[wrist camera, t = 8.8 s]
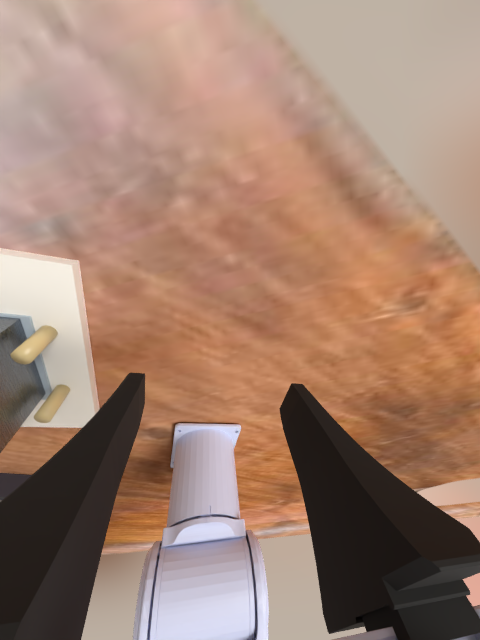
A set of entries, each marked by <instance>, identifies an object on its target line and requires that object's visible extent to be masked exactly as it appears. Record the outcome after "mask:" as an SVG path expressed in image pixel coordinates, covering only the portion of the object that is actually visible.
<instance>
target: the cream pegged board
mask: <svg viewBox="0 0 480 640" xmlns="http://www.w3.org/2000/svg"><path fill="white" fill-rule="evenodd" d="M0 317H10V318H20V319H21V322H22V325H23V328H24V331H25V334H26V337H27V340H25V341H24V342H23V343H22V344H21V345H20V346H19V347H17V348H16V349H15V350H14V351H13V352H12V353H11V358H12V359H13V360H14V361H15V362H17V363H19V364H30V363H31V362H32V361H33V360H34V361H35V364H36V366H37V369H38V372H39V375H40V378H41V381H42V384H43V387H44V390H45V393H46V394H45V395H44V397H43V398H42V399H41V400H40V402H39V403H38V404H37V406H36V407H35V408H34V410H33V411H32V412H31V414H30V415H29V416H28V417H27V419H26V420H25V421H24V423H23V424H22V425H21V427H64V428H83V427H84V426H85V425H86V424H87V423H88V422H89V421H90V419H91V418H92V417H93V416H94V415H95V414H96V413H97V412H98V411H99V410H100V408H99V401H98V393H97V386H96V379H95V372H94V365H93V357H92V350H91V343H90V336H89V329H88V321H87V314H86V307H85V300H84V293H83V286H82V278H81V271H80V264H79V261H78V260H72V259H66V258H59V257H53V256H47V255H41V254H35V253H28V252H22V251H16V250H10V249H3V248H0Z"/></svg>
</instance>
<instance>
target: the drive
mask: <svg viewBox="0 0 480 640" xmlns="http://www.w3.org/2000/svg"><path fill="white" fill-rule="evenodd" d="M25 340H27V337H26V334H25V331H24V328H23V325H22V322H21V319H20V318H10V317H0V453H1V452H2V450H3V449H4V448H5V446H6V445H7V444H8V442H9V441H10V440H11V438H12V437H13V436H14V435H15V433H16V432H17V431H18V429H19V428H20V427H21V425H22V424H23V423H24V421H25V420H26V419H27V417H28V416H29V415H30V414H31V412H32V411H33V410H34V408H35V407H36V406H37V404H38V403H39V402H40V400H41V399H42V398H43V397H44V395H45V394H46V393H45V390H44V387H43V384H42V381H41V378H40V375H39V372H38V369H37V366H36V364H35V361H34V360H33V361H32V362H31V363H30V364H19V363H17V362H15V361H14V360H13V359H12V358H11V353H12V352H13V351H14V350H15V349H16V348H17V347H19V346H20V345H21V344H22V343H23V342H24V341H25Z"/></svg>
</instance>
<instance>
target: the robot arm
mask: <svg viewBox="0 0 480 640" xmlns="http://www.w3.org/2000/svg"><path fill="white" fill-rule="evenodd" d="M144 404H145V374H142V373H129V374H128V375H127V376H126V378H125V379H124V380H123V382H122V383H121V384H120V386H119V387H118V388H117V390H116V391H115V392H114V393H113V394H112V396H111V397H110V398H109V399H108V400H107V402H106V403H105V404H104V405H103V406H102V407H101V408H100V410H99V411H98V412H97V413H96V414H95V415H94V416H93V417H92V418H91V419H90V421H89V422H88V423H87V424H86V425H85V426H84V427H83V428H82V429H81V430H80V431H79V432H78V433H77V434H76V435H75V436H74V437H73V438H72V439H71V440H70V441H69V442H68V443H67V444H66V445H65V446H64V447H63V448H62V449H61V450H60V451H58V452H57V453H56V454H55V455H54V456H53V457H52V458H51V459H50V460H49V461H48V462H47V463H45V464H44V465H43V466H42V467H41V468H40V469H39V470H37V471H36V472H35V473H34V474H33V475H32V476H30V477H29V478H28V479H27V480H26V481H25V482H24V483H22V484H21V485H20V486H19V487H18V488H16V489H15V490H14V491H13V492H12V493H10V494H9V495H8V496H7V497H5V498H4V499H3V500H2V501H0V640H81V637H82V633H83V628H84V624H85V620H86V615H87V611H88V606H89V602H90V598H91V594H92V590H93V586H94V581H95V577H96V573H97V569H98V565H99V561H100V557H101V553H102V549H103V545H104V541H105V537H106V533H107V529H108V525H109V521H110V517H111V513H112V509H113V505H114V501H115V498H116V494H117V491H118V487H119V484H120V481H121V478H122V475H123V472H124V469H125V467H126V464H127V461H128V458H129V455H130V452H131V449H132V446H133V443H134V441H135V438H136V435H137V432H138V429H139V426H140V421H141V417H142V413H143V409H144ZM280 414H281V420H282V425H283V430H284V433H285V436H286V440H287V443H288V446H289V449H290V452H291V455H292V459H293V462H294V465H295V468H296V471H297V474H298V478H299V481H300V485H301V489H302V493H303V498H304V502H305V507H306V512H307V516H308V521H309V526H310V531H311V537H312V542H313V548H314V554H315V560H316V566H317V572H318V579H319V586H320V593H321V600H322V608H323V615H324V618H325V622H326V626H327V629H328V632H329V634H331V633H335V632H339V631H345V630H350V629H354V628H359V627H364V626H365V628H366V631H367V632H365V633H361V634H356V635H351V636H347V637H342V638H338V639H333V640H480V605H478V606H474V607H473V606H472V605H471V603H470V602H469V600H468V599H467V597H466V595H470V591H469V589H468V587H467V586H466V584H465V583H464V581H463V580H462V579H464V578H467V577H470V576H472V575H475V574H477V573H480V542H479V541H478V540H477V538H476V537H475V535H474V534H473V533H472V532H471V530H470V529H469V528H467V527H466V526H464V525H463V524H461V523H460V522H458V521H457V520H455V519H454V518H452V517H451V516H449V515H448V514H446V513H445V512H443V511H442V510H440V509H439V508H437V507H436V506H434V505H433V504H432V503H430V502H429V501H427V500H426V499H425V498H423V497H422V496H421V495H419V494H417V493H416V492H415V491H414V490H412V489H411V488H410V487H408V486H407V485H406V484H405V483H403V482H402V481H401V480H399V479H398V478H397V477H396V476H394V475H393V474H392V473H391V472H389V471H388V470H387V469H386V468H385V467H383V466H382V465H381V464H380V463H379V462H377V461H376V460H375V459H374V458H373V457H372V456H371V455H370V454H369V453H367V452H366V451H365V450H364V449H363V448H362V447H361V446H360V445H359V444H358V443H357V442H356V441H355V440H354V439H353V438H352V437H351V436H350V435H349V434H348V433H347V432H346V431H345V430H344V429H343V428H342V427H341V426H340V425H339V424H338V423H337V422H336V421H335V420H334V419H333V418H332V417H331V416H330V414H329V413H328V412H327V411H326V410H325V409H324V408H323V407H322V406H321V404H320V403H319V402H318V401H317V400H316V399H315V398H314V397H313V395H312V394H311V393H310V392H309V391H308V390H307V389H306V388H305V386H304V385H303V384H293V383H292V384H291V386H290V388H289V390H288V392H287V394H286V396H285V399H284V401H283V403H282V405H281V407H280ZM240 430H241V426H240V425H238V424H196V423H178V424H176V425H175V432H174V440H173V448H172V456H171V464H170V467H171V468H173V476H172V485H171V493H170V502H169V510H168V519H167V527H166V528H164V529H163V537H162V541H156V542H155V543H154V544H153V547H152V548H151V549H150V550H149V551H148V553H147V555H146V559H145V563H144V566H143V571H142V576H141V581H140V587H139V593H138V599H137V606H136V614H135V622H134V632H133V640H269V637H268V619H269V605H268V590H267V581H266V572H265V566H264V560H263V555H262V551H261V547H260V544H259V541H258V539H257V538H256V536H255V535H254V534H253V532H252V531H251V530H245V521H244V519H240V510H239V500H238V490H237V480H236V470H235V459H234V447H235V444H236V441H237V439H238V436H239V433H240Z"/></svg>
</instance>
